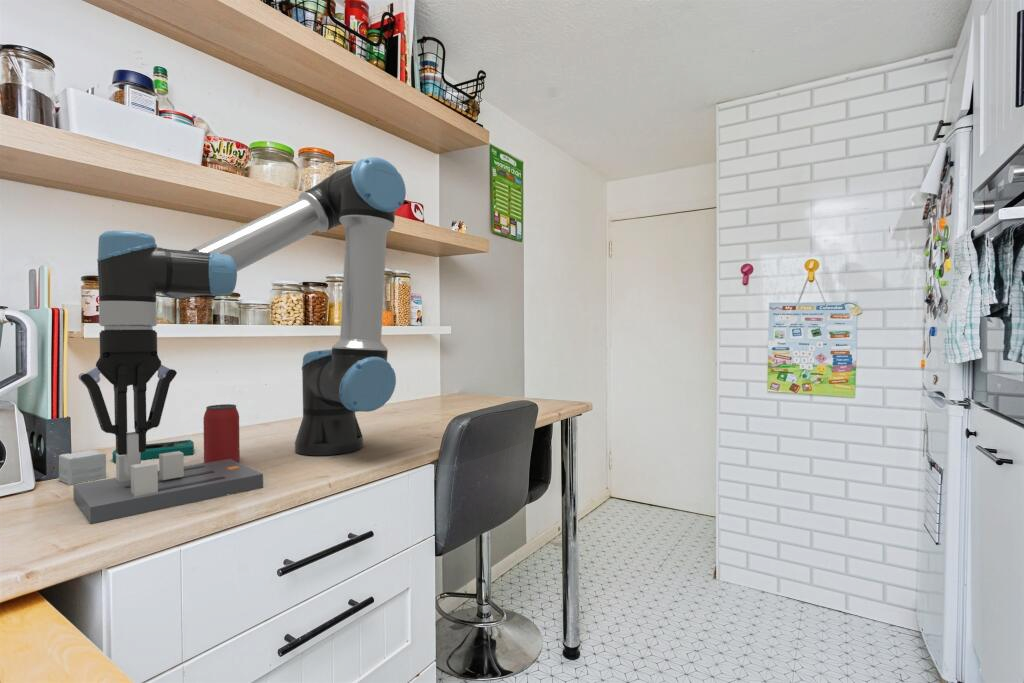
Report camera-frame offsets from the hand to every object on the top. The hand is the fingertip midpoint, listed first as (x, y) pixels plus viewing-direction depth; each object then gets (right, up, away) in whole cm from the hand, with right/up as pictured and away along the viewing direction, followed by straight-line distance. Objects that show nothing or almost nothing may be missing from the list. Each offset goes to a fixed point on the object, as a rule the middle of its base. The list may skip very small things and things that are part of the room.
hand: (131, 473), depth 85 cm
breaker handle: (+4, -2, +4) cm, 6 cm away
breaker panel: (+4, -4, +4) cm, 7 cm away
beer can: (+1, -4, +25) cm, 25 cm away
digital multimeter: (-17, -5, +31) cm, 36 cm away
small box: (-18, -5, +13) cm, 23 cm away
